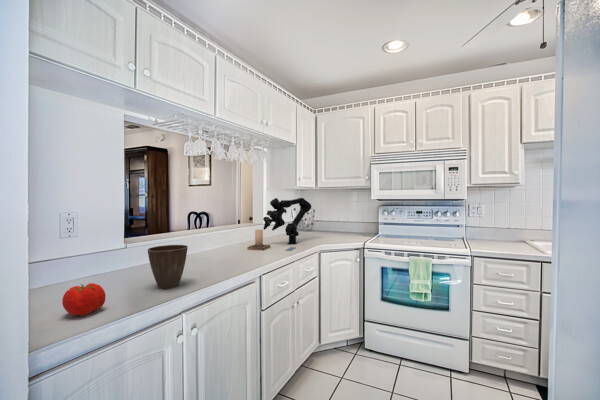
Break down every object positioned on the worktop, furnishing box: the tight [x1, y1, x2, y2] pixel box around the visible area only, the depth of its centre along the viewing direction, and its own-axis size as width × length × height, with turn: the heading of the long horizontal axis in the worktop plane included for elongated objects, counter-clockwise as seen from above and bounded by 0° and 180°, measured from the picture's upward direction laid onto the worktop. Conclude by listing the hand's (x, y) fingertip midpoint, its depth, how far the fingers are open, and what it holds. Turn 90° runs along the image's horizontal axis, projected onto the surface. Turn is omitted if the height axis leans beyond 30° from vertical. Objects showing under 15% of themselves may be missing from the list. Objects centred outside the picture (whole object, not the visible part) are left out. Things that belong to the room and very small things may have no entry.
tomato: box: [61, 282, 107, 317], centre depth 88 cm, size 11×11×9 cm
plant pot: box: [147, 244, 188, 290], centre depth 114 cm, size 15×15×16 cm
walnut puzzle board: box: [246, 243, 271, 251], centre depth 195 cm, size 12×12×2 cm
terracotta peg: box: [254, 229, 264, 247], centre depth 195 cm, size 5×5×13 cm
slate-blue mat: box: [284, 246, 296, 252], centre depth 196 cm, size 11×11×1 cm
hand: (268, 229), depth 201 cm, fingers open, 9 cm apart
